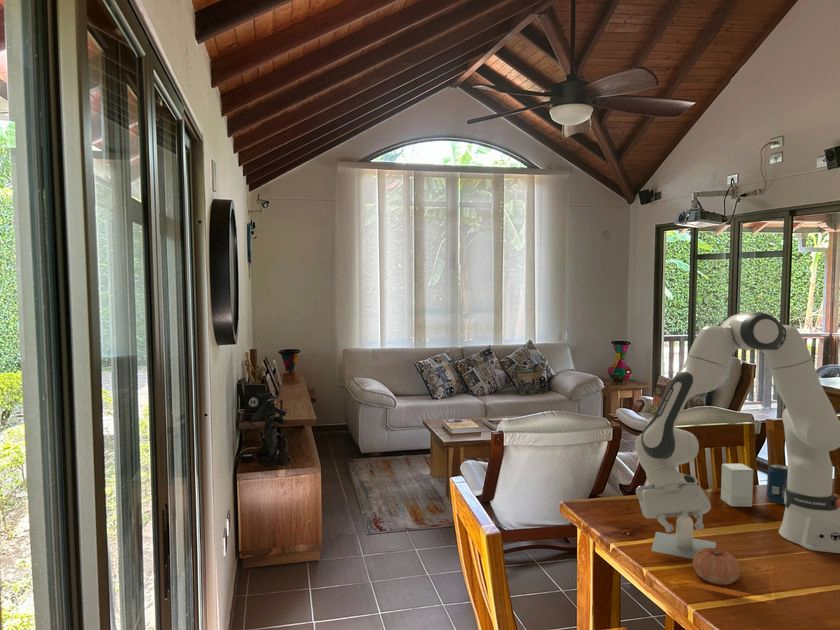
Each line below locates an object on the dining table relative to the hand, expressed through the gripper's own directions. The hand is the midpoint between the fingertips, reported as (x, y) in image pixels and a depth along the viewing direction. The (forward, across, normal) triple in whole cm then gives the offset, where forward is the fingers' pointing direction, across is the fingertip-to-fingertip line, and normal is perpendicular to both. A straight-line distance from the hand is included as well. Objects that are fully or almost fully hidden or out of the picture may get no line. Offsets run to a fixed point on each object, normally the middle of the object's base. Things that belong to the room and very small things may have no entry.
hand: (685, 530), depth 168 cm
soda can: (-16, +56, +24) cm, 63 cm away
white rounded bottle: (+3, 0, +4) cm, 5 cm away
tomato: (+16, -3, -7) cm, 18 cm away
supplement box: (-16, +40, +25) cm, 50 cm away
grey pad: (+4, 0, +5) cm, 6 cm away
